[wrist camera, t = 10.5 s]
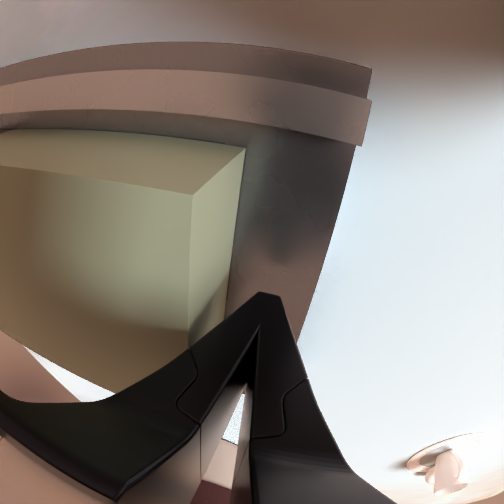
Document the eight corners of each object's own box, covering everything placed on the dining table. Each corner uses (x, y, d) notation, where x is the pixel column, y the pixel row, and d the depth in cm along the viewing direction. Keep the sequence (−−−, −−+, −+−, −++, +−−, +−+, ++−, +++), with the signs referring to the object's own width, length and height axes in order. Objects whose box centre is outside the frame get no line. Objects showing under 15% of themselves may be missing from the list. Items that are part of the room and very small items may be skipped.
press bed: (364, 71, 8) (414, 55, 3) (281, 371, 15) (261, 466, 11) (-46, 86, 10) (-108, 110, 6) (-19, 261, 18) (-62, 300, 13)
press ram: (245, 148, 9) (193, 195, 5) (221, 342, 13) (190, 421, 9) (-9, 130, 10) (-74, 158, 6) (17, 268, 14) (-28, 309, 11)
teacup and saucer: (448, 469, 21) (450, 501, 17) (386, 470, 22) (385, 507, 18) (505, 427, 16) (513, 465, 13) (441, 428, 17) (447, 475, 13)
